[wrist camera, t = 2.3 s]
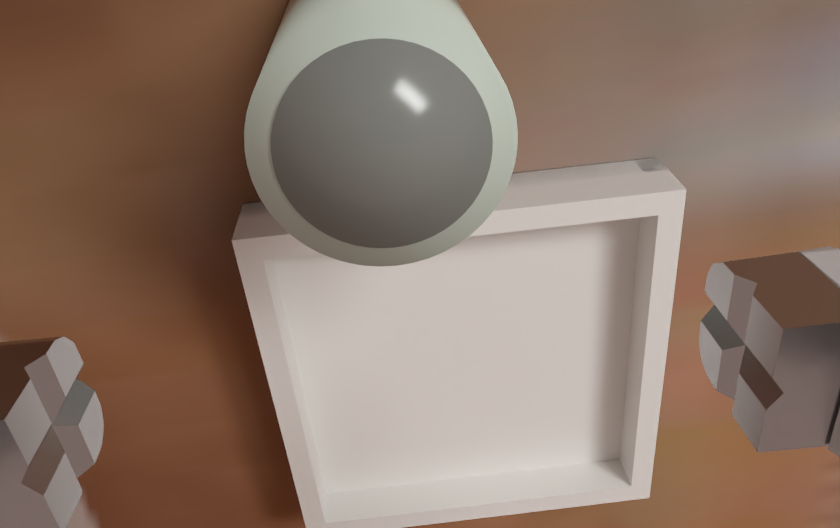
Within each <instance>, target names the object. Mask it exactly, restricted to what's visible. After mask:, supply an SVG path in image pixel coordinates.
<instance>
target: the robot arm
mask: <svg viewBox="0 0 840 528" xmlns="http://www.w3.org/2000/svg"><path fill="white" fill-rule="evenodd" d="M705 293H706V294H707V295H708V297H709V298H710V299H711V301H712V302H713V303H714V306H713V307H712V308H711V310H710V311H709V312H708V313H707V314H706V315H705V316H704V318H703V319H702V320H701V325H700V335H699V346H700V353H701V360H702V364H703V366H704V369H705V371H706V374H707V377H708V378H709V380H710V381H711V383H712V385H713V386H714V388H715V389H716V391H718V392H720V393H722V394H724V395H726V396H728V397H730V398H732V399H734V405H733V411H732V415H733V417H734V418H735V420H736V421H737V423H738V424H739V425H740V427H741V428H742V430H743V431H744V433H745V434H746V436H747V437H748V439H749V440H750V442H751V443H752V445H753V446H754V448H755V449H756V451H757V452H768V451H779V450H790V449H800V448H811V447H822V446H829V447H828V449H829V450H830V451H832V452H833V453H835V454H836V455H838V456H839V457H840V249H838V248H834V247H823V248H817V249H810V250H803V251H797V252H791V253H786V254H778V255H771V256H764V257H757V258H749V259H742V260H735V261H728V262H720V263H713V264H712V266H711V268H710V270H709V272H708V275H707V281H706V287H705ZM83 364H84V363H83V361H82V359H81V357H80V355H79V352H78V350H77V348H76V346H75V344H74V342H72V341H71V340H69V339H67V338H65V337H64V336H63V337H53V338H42V339H31V340H21V341H10V342H0V528H67V526H68V524H69V522H70V519H71V517H72V515H73V512H74V510H75V508H76V506H77V503H78V501H79V499H80V497H81V494H82V492H83V491H82V488H81V486H80V484H79V482H78V480H77V478H78V477H79V476H80V475H82V474H83V473H84V472H85V471H86V470H88V469H89V468H90V467H91V466H92V465H94V464H95V462H96V459H97V457H98V454H99V452H100V449H101V447H102V440H103V429H104V421H103V415H102V409H101V405H100V402H99V400H98V397H97V395H96V392H95V391H94V390H93V389H92V388H90V387H89V386H87V385H86V384H84V383H83V382H81V381H80V380H79V379H77V377H78V375H79V373H80V370H81V368H82V366H83Z"/></svg>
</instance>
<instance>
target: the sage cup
mask: <svg viewBox="0 0 840 528" xmlns="http://www.w3.org/2000/svg"><path fill="white" fill-rule="evenodd" d="M517 142H518V131H517V120H516V115H515V110H514V106H513V102H512V99H511V96H510V94H509V91H508V89H507V86H506V84H505V82H504V81H503V79H502V77H501V75H500V73H499V71H498V70H497V68H496V66H495V65H494V63H493V61H492V59H491V58H490V56H489V54H488V53H487V51H486V49H485V47H484V46H483V44H482V42H481V41H480V39H479V37H478V35H477V34H476V32H475V30H474V29H473V27H472V25H471V24H470V22H469V20H468V18H467V17H466V15H465V13H464V12H463V10H462V8H461V6H460V5H459V3H458V1H457V0H290V1H289V3H288V6H287V8H286V11H285V13H284V16H283V18H282V21H281V23H280V26H279V28H278V31H277V33H276V36H275V38H274V41H273V43H272V46H271V48H270V51H269V53H268V56H267V58H266V61H265V63H264V66H263V68H262V71H261V73H260V76H259V78H258V81H257V83H256V86H255V88H254V90H253V93H252V95H251V98H250V102H249V106H248V109H247V113H246V120H245V128H244V150H245V156H246V162H247V167H248V170H249V174H250V177H251V180H252V183H253V185H254V187H255V189H256V191H257V194H258V196H259V198H260V199H261V201H262V202H263V204H264V205H265V207H266V209H267V210H268V211H269V213H270V214H271V215H272V216H273V218H274V219H275V220H276V221H277V222H278V223H279V224H280V225H281V226H282V227H283V228H284V229H285V230H286V231H287V232H288V233H289V234H290V235H292V236H293V237H294V238H296V239H297V240H298V241H300V242H301V243H303V244H304V245H306V246H308V247H309V248H311V249H313V250H315V251H316V252H318V253H321V254H323V255H326V256H328V257H330V258H333V259H336V260H340V261H343V262H347V263H351V264H357V265H363V266H379V267H382V266H398V265H404V264H410V263H415V262H418V261H421V260H425V259H428V258H431V257H433V256H436V255H438V254H440V253H443V252H445V251H447V250H448V249H450V248H452V247H454V246H456V245H457V244H459V243H460V242H461V241H463V240H464V239H466V238H467V237H468V236H470V235H471V234H472V233H473V232H474V231H475V230H476V229H478V228H479V227H480V226H481V225H482V224H483V223H484V222H485V220H486V219H487V218H488V217H489V216H490V214H491V213H492V212H493V211H494V209H495V208H496V206H497V205H498V203H499V202H500V200H501V198H502V196H503V194H504V192H505V190H506V188H507V186H508V184H509V181H510V178H511V175H512V172H513V169H514V165H515V160H516V154H517Z"/></svg>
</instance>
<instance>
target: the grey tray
mask: <svg viewBox="0 0 840 528" xmlns="http://www.w3.org/2000/svg"><path fill="white" fill-rule="evenodd" d="M685 197H686V188H685V187H684V186H683V185H682V184H681V183H680V182H679V181H678V180H677V179H676V177H675V176H674V175H673V174H672V173H671V172H670V171H669V170H668V169H667V168H666V167H665V165H664V164H663V163H662V162H661V161H660V160H659V159H658V158H650V159H641V160H632V161H623V162H614V163H605V164H596V165H587V166H578V167H569V168H560V169H551V170H542V171H533V172H524V173H515V174H512V175H511V178H510V181H509V184H508V186H507V188H506V190H505V192H504V194H503V196H502V198H501V200H500V202H499V203H498V205H497V206H496V208H495V209H494V211H493V212H492V213H491V214H490V216H489V217H488V218H487V219H486V220H485V222H484V223H483V224H482V225H481V226H480V227H479V228H478V229H476V230H475V231H474V232H473V233H472V234H471V235H470V236H468V237H467V238H466V239H464V240H463V241H461V242H460V243H459V244H457V245H456V246H454V247H452V248H450V249H448V250H447V251H445V252H443V253H440V254H438V255H436V256H433V257H431V258H428V259H425V260H421V261H418V262H415V263H410V264H404V265H398V266H382V267H379V266H363V265H357V264H351V263H347V262H343V261H340V260H336V259H333V258H330V257H328V256H326V255H323V254H321V253H318V252H316V251H315V250H313V249H311V248H309V247H308V246H306V245H304V244H303V243H301V242H300V241H298V240H297V239H296V238H294V237H293V236H292V235H290V234H289V233H288V232H287V231H286V230H285V229H284V228H283V227H282V226H281V225H280V224H279V223H278V222H277V221H276V220H275V219H274V218H273V216H272V215H271V214H270V213H269V211H268V210H267V209H266V207H265V205H264V204H263V202H254V203H245V204H243V205H242V208H241V211H240V214H239V218H238V221H237V224H236V227H235V231H234V234H233V237H232V240H231V241H232V245H233V248H234V252H235V256H236V260H237V264H238V268H239V272H240V275H241V279H242V283H243V287H244V291H245V295H246V298H247V302H248V306H249V310H250V314H251V318H252V322H253V325H254V329H255V333H256V337H257V341H258V345H259V349H260V352H261V356H262V360H263V364H264V368H265V372H266V376H267V379H268V383H269V387H270V391H271V395H272V399H273V403H274V406H275V410H276V414H277V418H278V422H279V426H280V430H281V433H282V437H283V441H284V445H285V449H286V453H287V456H288V460H289V464H290V468H291V472H292V476H293V480H294V483H295V487H296V491H297V495H298V499H299V503H300V507H301V510H302V514H303V518H304V522H305V526H306V528H403V527H411V526H419V525H427V524H436V523H444V522H452V521H461V520H469V519H477V518H486V517H494V516H502V515H511V514H519V513H527V512H536V511H544V510H552V509H561V508H569V507H577V506H586V505H594V504H602V503H610V502H619V501H627V500H635V499H644V498H649V496H650V488H651V479H652V471H653V463H654V454H655V446H656V438H657V429H658V421H659V413H660V405H661V396H662V388H663V380H664V371H665V363H666V355H667V347H668V338H669V330H670V322H671V313H672V305H673V297H674V289H675V280H676V272H677V264H678V255H679V247H680V239H681V231H682V222H683V214H684V206H685Z"/></svg>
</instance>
